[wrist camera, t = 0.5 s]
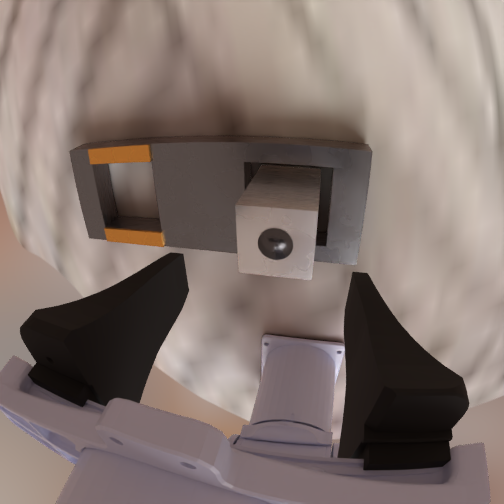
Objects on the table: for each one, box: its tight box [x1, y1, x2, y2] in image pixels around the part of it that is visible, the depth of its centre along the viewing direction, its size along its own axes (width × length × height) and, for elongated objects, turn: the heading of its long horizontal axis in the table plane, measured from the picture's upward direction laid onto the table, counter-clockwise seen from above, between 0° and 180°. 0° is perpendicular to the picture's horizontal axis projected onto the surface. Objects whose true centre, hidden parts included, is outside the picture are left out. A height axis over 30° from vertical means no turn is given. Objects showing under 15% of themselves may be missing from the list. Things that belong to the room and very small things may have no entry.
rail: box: [70, 136, 372, 265], centre depth 22 cm, size 8×22×2 cm, turn 92°
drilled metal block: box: [235, 165, 321, 280], centre depth 19 cm, size 4×4×7 cm
